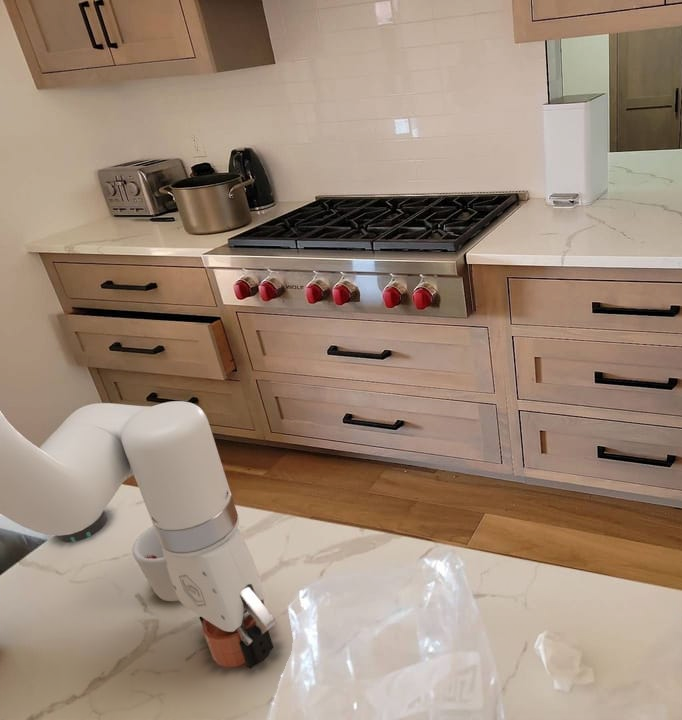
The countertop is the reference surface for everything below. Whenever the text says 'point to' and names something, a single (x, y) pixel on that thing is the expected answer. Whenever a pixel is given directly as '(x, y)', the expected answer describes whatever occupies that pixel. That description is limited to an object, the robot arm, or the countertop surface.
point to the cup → (154, 564)
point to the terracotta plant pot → (225, 643)
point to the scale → (86, 530)
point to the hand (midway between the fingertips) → (240, 645)
